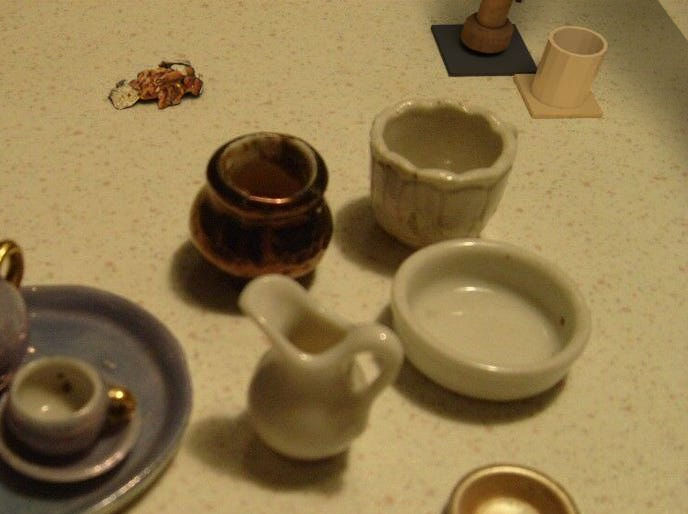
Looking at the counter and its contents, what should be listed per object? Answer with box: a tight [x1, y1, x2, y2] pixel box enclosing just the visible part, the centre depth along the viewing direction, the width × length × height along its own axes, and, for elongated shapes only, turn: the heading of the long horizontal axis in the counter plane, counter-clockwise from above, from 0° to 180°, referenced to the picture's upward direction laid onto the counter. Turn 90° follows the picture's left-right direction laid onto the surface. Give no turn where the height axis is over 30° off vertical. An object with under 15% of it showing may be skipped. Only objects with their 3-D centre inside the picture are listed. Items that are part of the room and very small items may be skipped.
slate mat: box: [430, 23, 538, 77], centre depth 118 cm, size 12×12×1 cm
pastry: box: [107, 58, 205, 111], centre depth 109 cm, size 7×12×4 cm, turn 116°
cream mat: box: [513, 74, 604, 119], centre depth 111 cm, size 9×9×1 cm
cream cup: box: [531, 25, 609, 109], centre depth 108 cm, size 7×7×8 cm
